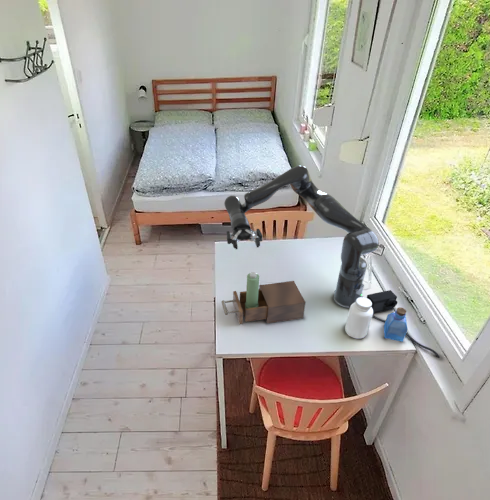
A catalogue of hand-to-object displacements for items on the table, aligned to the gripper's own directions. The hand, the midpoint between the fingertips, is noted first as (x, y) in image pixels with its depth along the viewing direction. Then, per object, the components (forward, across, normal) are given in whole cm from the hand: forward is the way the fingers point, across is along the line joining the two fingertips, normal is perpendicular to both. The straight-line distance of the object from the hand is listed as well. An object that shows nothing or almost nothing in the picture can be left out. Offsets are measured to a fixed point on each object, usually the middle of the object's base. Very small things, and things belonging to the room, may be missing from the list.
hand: (247, 246), depth 149 cm
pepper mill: (+12, 0, +22) cm, 25 cm away
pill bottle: (+27, +37, +24) cm, 52 cm away
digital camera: (+18, +51, +24) cm, 59 cm away
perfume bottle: (+30, +50, +24) cm, 63 cm away
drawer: (+13, -2, +23) cm, 26 cm away
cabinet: (+12, +12, +24) cm, 29 cm away
